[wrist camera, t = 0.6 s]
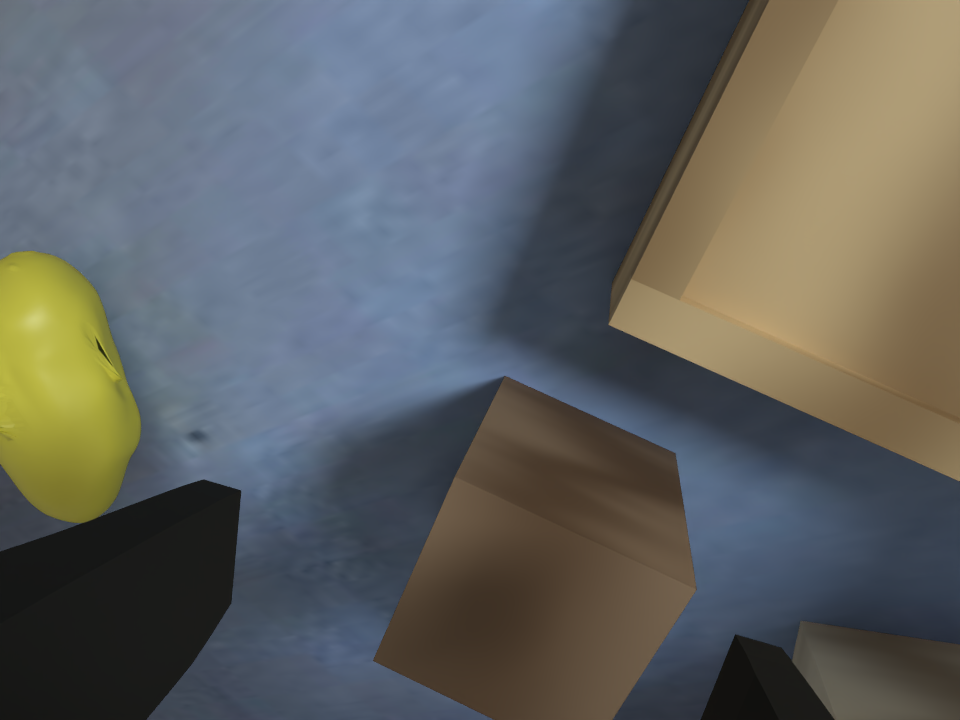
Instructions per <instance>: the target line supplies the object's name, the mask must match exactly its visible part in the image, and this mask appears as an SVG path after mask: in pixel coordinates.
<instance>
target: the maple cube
mask: <svg viewBox="0 0 960 720" xmlns="http://www.w3.org/2000/svg"><path fill="white" fill-rule="evenodd" d="M792 662H793V663H794V665H795V666H796V667H797V669H798V670H799V671H800V673H801V674H802V675H803V677H804V678H805V679H806V681H807V682H808V683H809V685H810V686H811V688H812V689H813V690H814V692H815V693H816V694H817V696H818V697H819V699H820V700H821V701H822V703H823V704H824V705H825V707H826V708H827V710H828V711H829V712H830V714H831V715H832V716H833V718H834V719H835V720H960V644H953V643H947V642H940V641H933V640H927V639H920V638H913V637H907V636H900V635H893V634H887V633H880V632H873V631H867V630H860V629H853V628H847V627H840V626H833V625H826V624H820V623H813V622H806V621H800V626H799V631H798V635H797V640H796V644H795V649H794V653H793V658H792Z"/></svg>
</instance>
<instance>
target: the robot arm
mask: <svg viewBox="0 0 960 720" xmlns="http://www.w3.org/2000/svg"><path fill="white" fill-rule="evenodd" d="M240 499H241V490H238V489H234V488H231V487H227V486H224V485H221V484H217V483H214V482H210V481H207V480H200V481H197V482H194V483H190V484H187V485H184V486H181V487H179V488H176V489H173V490H170V491H167V492H165V493H162V494H159V495H157V496H154V497H151V498H149V499H146V500H143V501H141V502H138V503H135V504H133V505H130V506H127V507H125V508H122V509H120V510H117V511H114V512H111V513H109V514H106V515H103V516H101V517H98V518H95V519H93V520H90V521H87V522H85V523H82V524H79V525H76V526H74V527H71V528H68V529H66V530H63V531H60V532H57V533H55V534H52V535H49V536H46V537H43V538H40V539H37V540H34V541H31V542H28V543H25V544H22V545H19V546H16V547H13V548H10V549H7V550H4V551H1V552H0V720H146V719H147V718H148V717H149V715H150V714H151V713H152V712H153V711H154V710H155V708H156V707H157V706H158V705H159V703H160V702H161V701H162V700H163V699H164V697H165V696H166V695H167V694H168V693H169V691H170V690H171V689H172V688H173V687H174V685H175V684H176V683H177V682H178V680H179V679H180V678H181V677H182V676H183V674H184V673H185V672H186V671H187V669H188V668H189V667H190V666H191V664H192V663H193V662H194V660H195V659H196V657H197V656H198V654H199V653H200V651H201V650H202V648H203V647H204V645H205V644H206V642H207V641H208V639H209V638H210V636H211V635H212V633H213V631H214V630H215V628H216V627H217V625H218V623H219V622H220V620H221V619H222V617H223V615H224V614H225V612H226V611H227V609H228V607H229V606H230V604H231V600H232V589H233V578H234V566H235V555H236V544H237V532H238V521H239V510H240ZM701 720H835V719H834V718H833V716H832V715H831V714H830V712H829V711H828V710H827V708H826V707H825V705H824V704H823V703H822V701H821V700H820V699H819V697H818V696H817V694H816V693H815V692H814V690H813V689H812V688H811V686H810V685H809V683H808V682H807V681H806V679H805V678H804V677H803V675H802V674H801V673H800V671H799V670H798V669H797V667H796V666H795V665H794V663H793V662H792V661H791V659H790V658H789V657H788V655H787V654H786V653H785V652H784V650H783V649H782V648H780V647H777V646H773V645H770V644H767V643H763V642H760V641H756V640H753V639H749V638H746V637H743V636H739V635H736V634H735V636H734V639H733V641H732V644H731V646H730V649H729V651H728V654H727V656H726V659H725V661H724V663H723V666H722V668H721V671H720V673H719V676H718V678H717V681H716V683H715V686H714V688H713V691H712V693H711V696H710V698H709V701H708V703H707V706H706V708H705V711H704V713H703V716H702V718H701Z"/></svg>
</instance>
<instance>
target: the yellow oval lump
mask: <svg viewBox="0 0 960 720" xmlns="http://www.w3.org/2000/svg"><path fill="white" fill-rule="evenodd" d="M140 435H141V418H140V413H139V410H138V407H137V405H136V402H135V400H134V397H133V395H132V392H131V390H130V388H129V386H128V383H127V380H126V377H125V373H124V369H123V366H122V363H121V359H120V356H119V353H118V351H117V349H116V346H115V344H114V341H113V338H112V335H111V332H110V328H109V325H108V321H107V317H106V314H105V311H104V308H103V305H102V302H101V300H100V297H99V295H98V293H97V291H96V290H95V288H94V287H93V286H92V284H91V283H90V282H89V281H88V280H87V279H86V278H85V277H84V276H83V275H82V274H81V273H80V272H79V271H78V270H77V269H75V268H74V267H73V266H72V265H70V264H69V263H67V262H66V261H64V260H62V259H60V258H58V257H56V256H53V255H50V254H46V253H40V252H35V251H23V252H15V253H11V254H10V255H8V256H7V257H5V258H3V259H1V260H0V464H1V466H2V467H3V469H4V470H5V471H6V473H7V474H8V475H9V477H10V478H11V479H12V481H13V482H14V484H15V485H16V486H17V488H18V489H19V490H20V491H21V493H22V494H23V495H24V496H25V497H26V499H27V500H28V501H29V502H30V503H31V504H32V505H33V506H35V507H36V508H37V509H38V510H40V511H41V512H43V513H44V514H46V515H48V516H51V517H53V518H56V519H59V520H63V521H67V522H72V523H85V522H87V521H90V520H93V519H95V518H97V517H99V516H100V515H101V514H103V513H104V512H105V511H106V510H107V509H108V508H109V507H110V506H111V505H112V503H113V502H114V500H115V499H116V497H117V495H118V493H119V491H120V488H121V485H122V482H123V478H124V475H125V471H126V468H127V465H128V462H129V460H130V458H131V456H132V454H133V453H134V451H135V449H136V448H137V445H138V443H139V440H140Z"/></svg>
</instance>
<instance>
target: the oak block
mask: <svg viewBox="0 0 960 720" xmlns="http://www.w3.org/2000/svg"><path fill="white" fill-rule="evenodd" d="M609 325H610V326H612V327H614V328H617V329H619V330H621V331H623V332H626V333H628V334H630V335H632V336H635V337H637V338H639V339H641V340H644V341H646V342H648V343H650V344H653V345H655V346H657V347H659V348H661V349H664V350H666V351H668V352H670V353H673V354H675V355H677V356H679V357H682V358H684V359H686V360H688V361H691V362H693V363H695V364H697V365H700V366H702V367H704V368H706V369H709V370H711V371H713V372H715V373H718V374H720V375H722V376H724V377H727V378H729V379H731V380H733V381H735V382H738V383H740V384H742V385H744V386H747V387H749V388H751V389H753V390H756V391H758V392H760V393H762V394H765V395H767V396H769V397H771V398H774V399H776V400H778V401H780V402H783V403H785V404H787V405H789V406H792V407H794V408H796V409H798V410H801V411H803V412H805V413H807V414H809V415H812V416H814V417H816V418H818V419H821V420H823V421H825V422H827V423H830V424H832V425H834V426H836V427H839V428H841V429H843V430H845V431H848V432H850V433H852V434H854V435H857V436H859V437H861V438H863V439H866V440H868V441H870V442H872V443H875V444H877V445H879V446H881V447H884V448H886V449H888V450H890V451H892V452H895V453H897V454H899V455H901V456H904V457H906V458H908V459H910V460H913V461H915V462H917V463H919V464H922V465H924V466H926V467H928V468H931V469H933V470H935V471H937V472H940V473H942V474H944V475H946V476H949V477H951V478H953V479H955V480H958V481H960V0H749V2H748V4H747V6H746V8H745V10H744V12H743V14H742V16H741V18H740V20H739V22H738V25H737V27H736V29H735V31H734V33H733V35H732V37H731V39H730V41H729V43H728V45H727V47H726V49H725V51H724V53H723V55H722V57H721V60H720V62H719V64H718V66H717V68H716V70H715V72H714V74H713V76H712V78H711V80H710V82H709V84H708V86H707V88H706V90H705V93H704V95H703V97H702V99H701V101H700V103H699V105H698V107H697V109H696V111H695V113H694V115H693V117H692V119H691V121H690V123H689V125H688V128H687V130H686V132H685V134H684V136H683V138H682V140H681V142H680V144H679V146H678V148H677V150H676V152H675V154H674V156H673V158H672V160H671V163H670V165H669V167H668V169H667V171H666V173H665V175H664V177H663V179H662V181H661V183H660V185H659V187H658V189H657V191H656V193H655V195H654V198H653V200H652V202H651V204H650V206H649V208H648V210H647V212H646V214H645V216H644V218H643V220H642V222H641V224H640V226H639V228H638V231H637V233H636V235H635V237H634V239H633V241H632V243H631V245H630V247H629V249H628V251H627V253H626V255H625V257H624V259H623V261H622V263H621V266H620V268H619V270H618V272H617V274H616V276H615V278H614V280H613V282H612V290H611V302H610V313H609Z"/></svg>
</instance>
